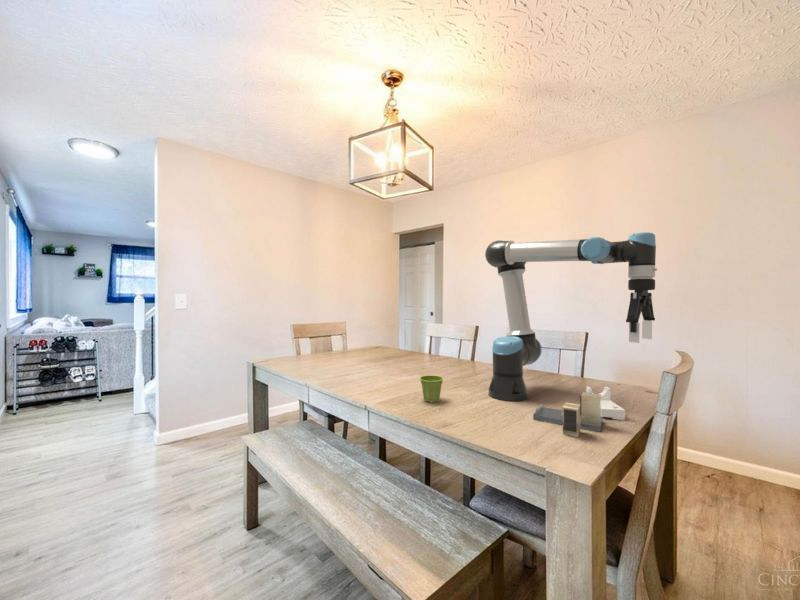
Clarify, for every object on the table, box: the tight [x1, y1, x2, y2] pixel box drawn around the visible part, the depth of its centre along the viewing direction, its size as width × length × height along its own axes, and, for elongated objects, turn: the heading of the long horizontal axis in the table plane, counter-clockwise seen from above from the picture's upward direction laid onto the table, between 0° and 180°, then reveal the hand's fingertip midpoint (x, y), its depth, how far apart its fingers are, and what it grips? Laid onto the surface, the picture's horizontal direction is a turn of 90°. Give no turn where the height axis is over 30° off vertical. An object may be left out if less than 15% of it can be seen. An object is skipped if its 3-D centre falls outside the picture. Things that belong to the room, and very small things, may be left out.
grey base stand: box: [532, 391, 604, 433], centre depth 110 cm, size 19×10×10 cm, turn 55°
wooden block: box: [562, 402, 581, 438], centre depth 100 cm, size 5×4×8 cm
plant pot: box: [419, 374, 445, 402], centre depth 133 cm, size 9×9×9 cm
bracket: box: [585, 385, 626, 421], centre depth 117 cm, size 13×7×8 cm, turn 171°
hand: (640, 340), depth 116 cm, fingers open, 13 cm apart
